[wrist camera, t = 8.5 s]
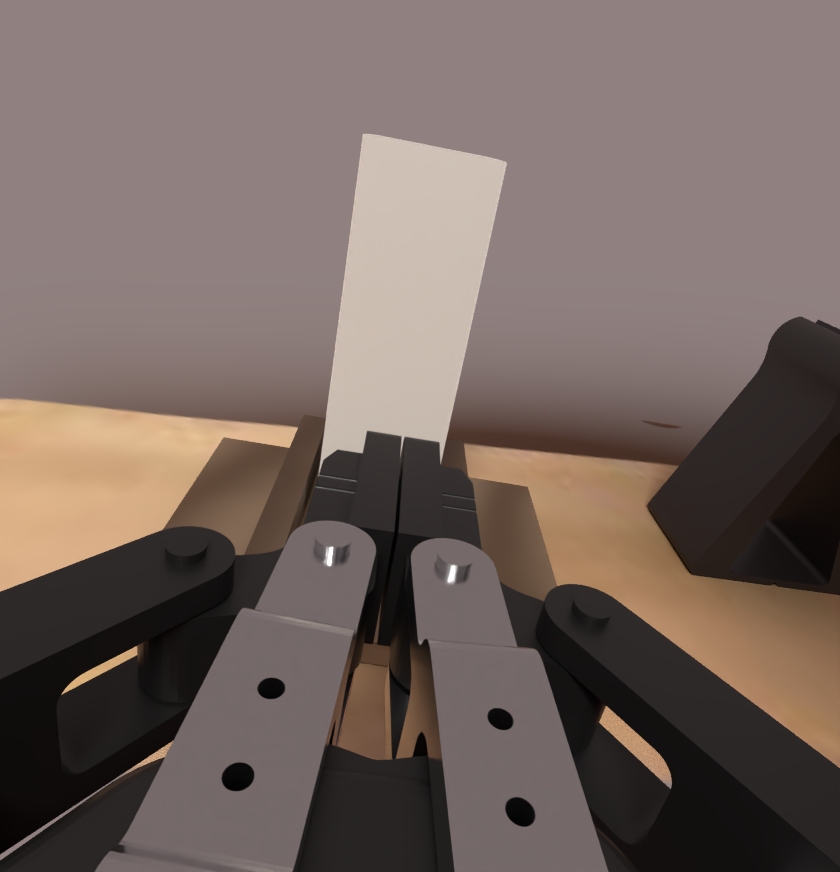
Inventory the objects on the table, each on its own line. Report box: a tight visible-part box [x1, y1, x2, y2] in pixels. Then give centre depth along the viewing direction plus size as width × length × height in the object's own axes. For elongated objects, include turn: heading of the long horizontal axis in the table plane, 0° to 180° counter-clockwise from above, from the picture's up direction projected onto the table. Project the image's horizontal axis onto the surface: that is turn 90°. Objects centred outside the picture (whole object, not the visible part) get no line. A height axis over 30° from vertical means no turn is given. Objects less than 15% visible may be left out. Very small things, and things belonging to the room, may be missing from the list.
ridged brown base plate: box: [163, 415, 557, 666], centre depth 28 cm, size 16×13×3 cm
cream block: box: [318, 134, 507, 476], centre depth 27 cm, size 5×5×15 cm
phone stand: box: [648, 317, 840, 595], centre depth 32 cm, size 9×6×12 cm, turn 91°
